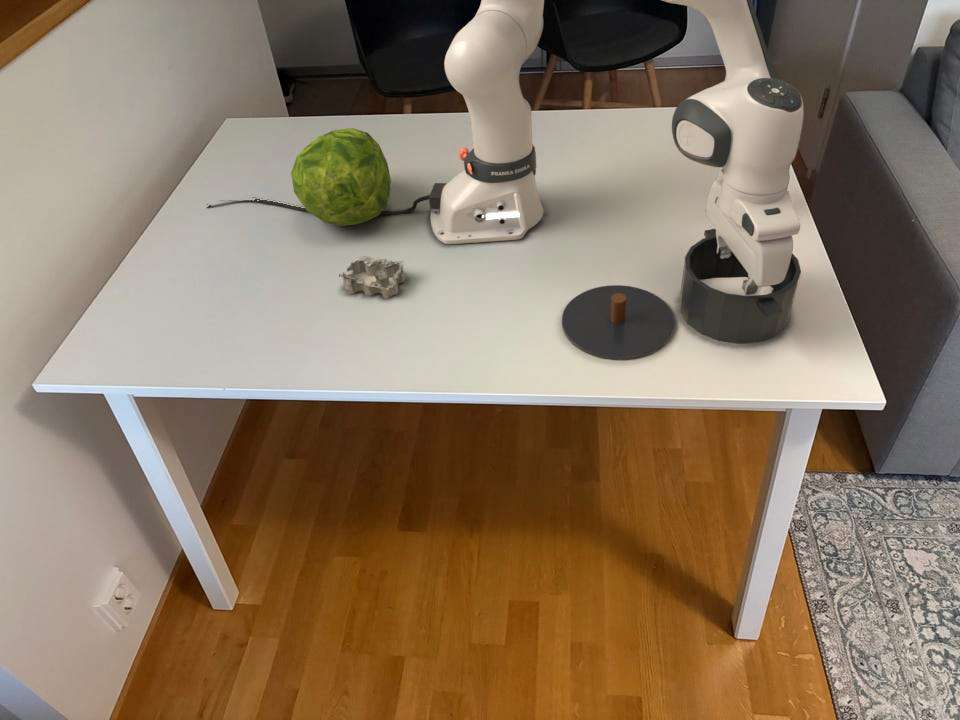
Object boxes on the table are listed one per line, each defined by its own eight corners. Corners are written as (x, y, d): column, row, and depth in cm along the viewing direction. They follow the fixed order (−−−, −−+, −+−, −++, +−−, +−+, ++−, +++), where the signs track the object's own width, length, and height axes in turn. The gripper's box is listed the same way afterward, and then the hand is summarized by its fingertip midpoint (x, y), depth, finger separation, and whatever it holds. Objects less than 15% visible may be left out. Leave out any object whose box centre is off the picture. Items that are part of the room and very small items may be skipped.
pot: (711, 366, 113) (720, 319, 107) (658, 280, 130) (662, 234, 123) (816, 345, 115) (831, 297, 108) (750, 262, 131) (760, 216, 125)
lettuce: (402, 183, 162) (376, 102, 152) (399, 230, 143) (369, 140, 133) (318, 205, 164) (287, 125, 154) (304, 254, 145) (267, 167, 135)
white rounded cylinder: (774, 318, 119) (781, 291, 115) (697, 321, 120) (702, 293, 117) (765, 295, 124) (772, 267, 120) (691, 297, 125) (695, 270, 121)
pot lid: (579, 372, 115) (580, 345, 111) (549, 301, 128) (549, 274, 124) (691, 350, 116) (695, 322, 112) (650, 282, 129) (652, 255, 125)
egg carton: (340, 293, 135) (335, 275, 132) (358, 268, 140) (353, 250, 137) (393, 301, 132) (389, 282, 129) (410, 276, 137) (406, 257, 134)
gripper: (702, 164, 115) (690, 239, 124) (763, 239, 100) (744, 317, 110) (741, 158, 115) (727, 233, 125) (807, 231, 100) (784, 310, 110)
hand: (735, 273), depth 117 cm, fingers open, 8 cm apart
